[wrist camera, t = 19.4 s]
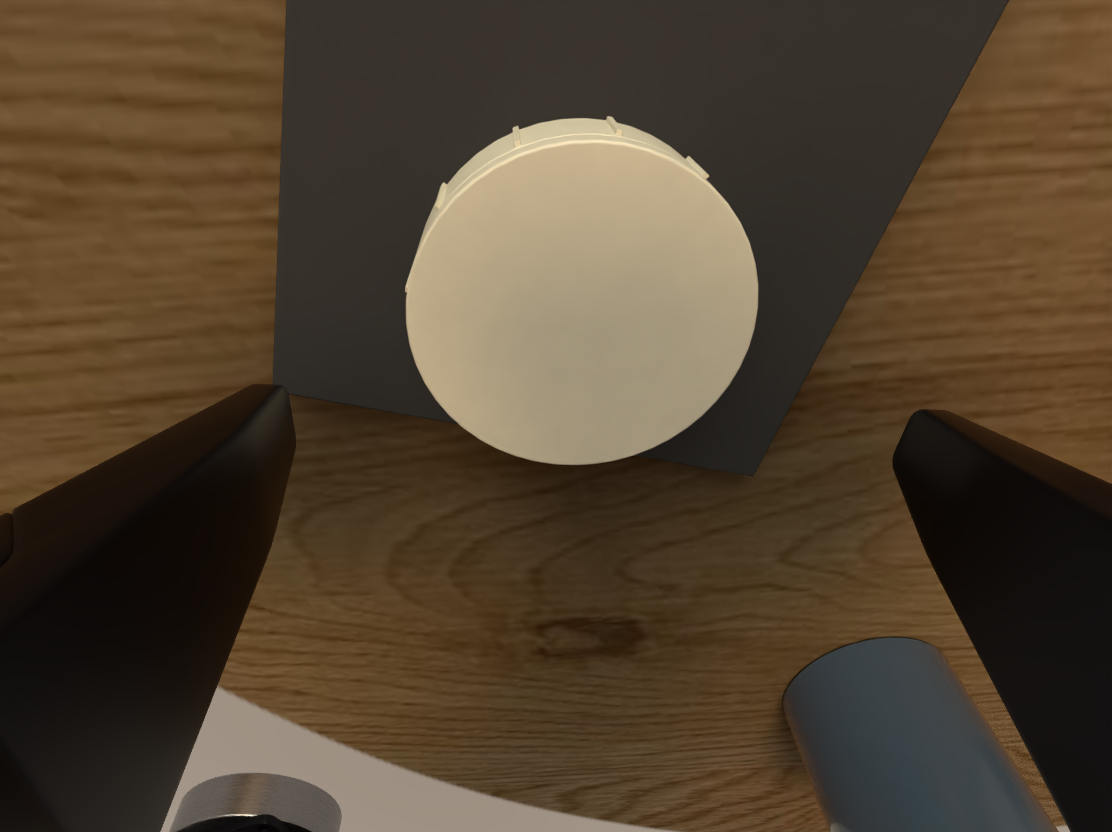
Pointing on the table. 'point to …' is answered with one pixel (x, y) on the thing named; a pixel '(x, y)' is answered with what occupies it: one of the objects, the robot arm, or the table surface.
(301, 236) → the mat
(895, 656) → the jar
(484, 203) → the lid
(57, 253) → the table surface
